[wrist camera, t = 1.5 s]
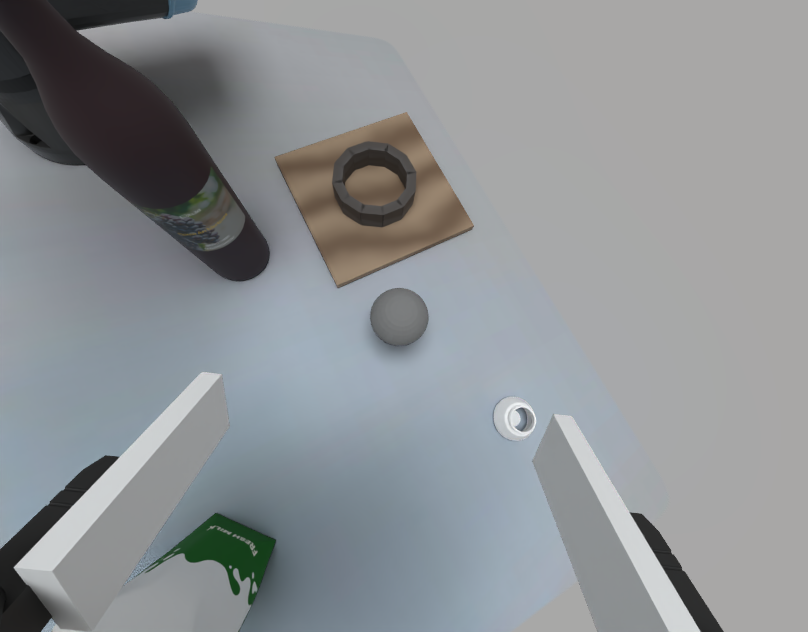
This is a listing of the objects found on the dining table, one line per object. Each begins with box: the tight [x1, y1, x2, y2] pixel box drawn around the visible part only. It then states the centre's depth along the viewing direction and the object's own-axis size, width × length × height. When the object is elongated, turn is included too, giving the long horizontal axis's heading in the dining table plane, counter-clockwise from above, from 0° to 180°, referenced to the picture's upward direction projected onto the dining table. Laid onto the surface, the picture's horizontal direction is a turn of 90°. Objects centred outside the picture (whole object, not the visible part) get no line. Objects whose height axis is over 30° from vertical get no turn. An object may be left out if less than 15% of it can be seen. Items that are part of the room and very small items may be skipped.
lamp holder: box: [275, 112, 474, 288], centre depth 43 cm, size 20×20×4 cm
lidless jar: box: [493, 397, 536, 441], centre depth 38 cm, size 5×3×5 cm
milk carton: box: [51, 513, 276, 632], centre depth 24 cm, size 9×9×20 cm
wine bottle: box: [0, 0, 269, 281], centre depth 27 cm, size 7×7×30 cm
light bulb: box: [370, 288, 428, 346], centre depth 36 cm, size 6×6×10 cm
